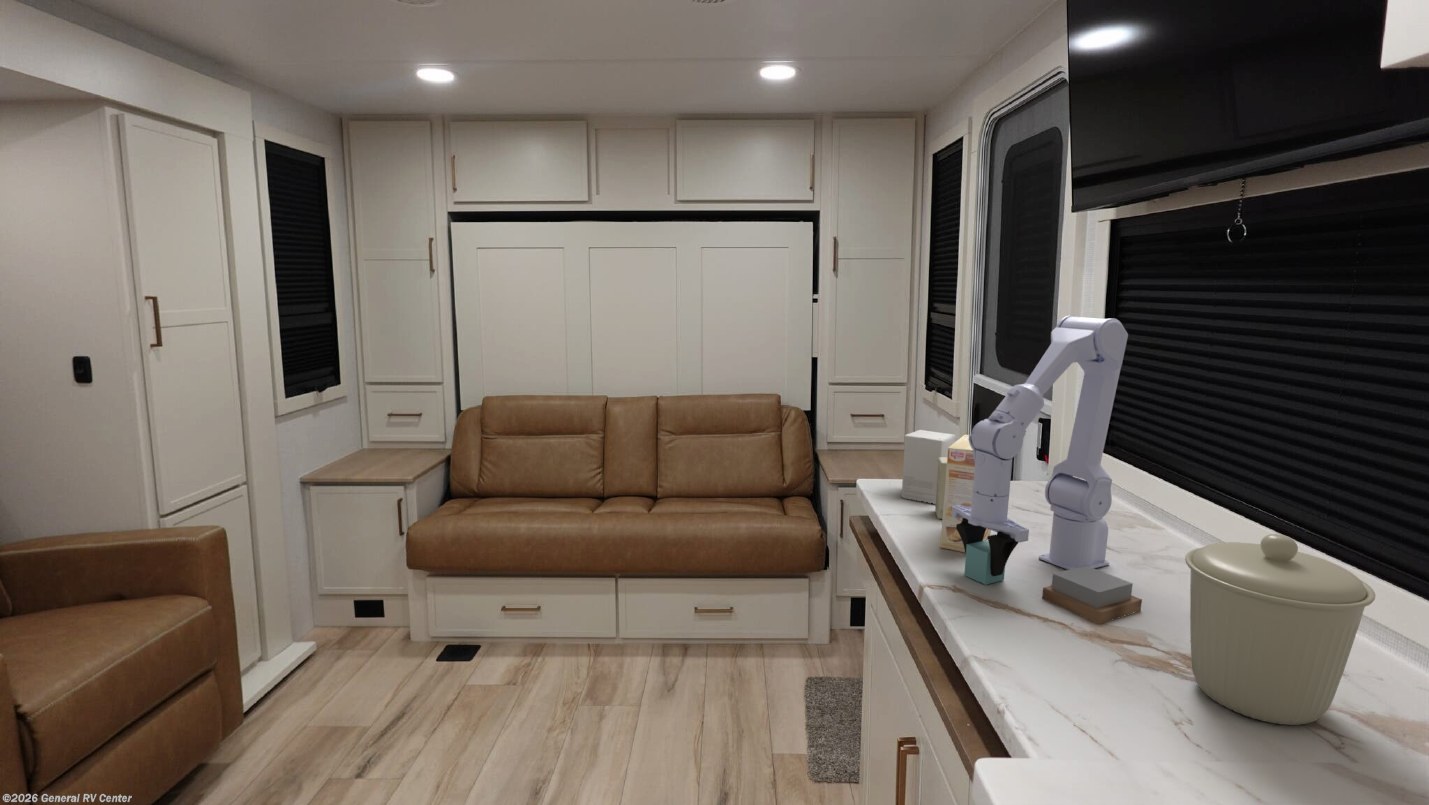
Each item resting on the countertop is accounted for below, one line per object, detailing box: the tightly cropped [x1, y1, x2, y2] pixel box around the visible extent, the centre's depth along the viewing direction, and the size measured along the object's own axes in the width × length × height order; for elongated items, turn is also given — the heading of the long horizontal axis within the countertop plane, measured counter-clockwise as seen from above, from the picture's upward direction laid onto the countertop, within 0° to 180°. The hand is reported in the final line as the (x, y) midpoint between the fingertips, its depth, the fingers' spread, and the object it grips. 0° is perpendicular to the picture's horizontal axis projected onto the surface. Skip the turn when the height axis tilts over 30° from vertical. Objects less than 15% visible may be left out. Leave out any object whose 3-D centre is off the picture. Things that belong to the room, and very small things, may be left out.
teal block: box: [963, 539, 1006, 586], centre depth 128 cm, size 4×4×6 cm
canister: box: [1184, 533, 1376, 726], centre depth 90 cm, size 18×18×21 cm
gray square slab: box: [1051, 566, 1133, 608], centre depth 118 cm, size 8×8×2 cm
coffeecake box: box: [939, 434, 992, 554], centre depth 145 cm, size 15×7×20 cm, turn 150°
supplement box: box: [901, 429, 957, 505], centre depth 174 cm, size 9×9×15 cm
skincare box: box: [934, 457, 947, 520], centre depth 161 cm, size 6×4×12 cm
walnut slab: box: [1041, 584, 1143, 625], centre depth 119 cm, size 10×10×2 cm
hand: (984, 569), depth 128 cm, fingers closed on teal block, 4 cm apart
